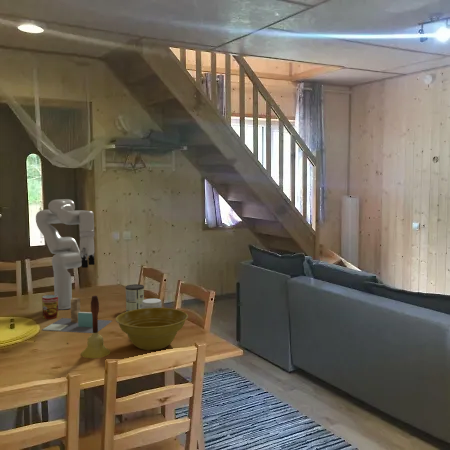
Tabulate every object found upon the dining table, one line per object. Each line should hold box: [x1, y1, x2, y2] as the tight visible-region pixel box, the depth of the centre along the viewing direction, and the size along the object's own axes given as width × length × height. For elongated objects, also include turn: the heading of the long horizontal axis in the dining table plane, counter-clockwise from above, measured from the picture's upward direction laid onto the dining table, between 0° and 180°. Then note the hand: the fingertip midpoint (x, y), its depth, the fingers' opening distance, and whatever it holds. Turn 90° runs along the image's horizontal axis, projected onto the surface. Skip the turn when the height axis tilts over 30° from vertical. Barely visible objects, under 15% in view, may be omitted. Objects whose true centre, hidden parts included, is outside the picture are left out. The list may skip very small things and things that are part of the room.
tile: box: [78, 311, 93, 327], centre depth 256 cm, size 8×2×7 cm, turn 81°
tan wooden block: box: [70, 297, 81, 323], centre depth 264 cm, size 4×4×12 cm
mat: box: [42, 317, 113, 334], centre depth 258 cm, size 28×22×1 cm
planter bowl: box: [115, 307, 189, 351], centre depth 230 cm, size 32×32×13 cm
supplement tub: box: [142, 298, 163, 309], centre depth 254 cm, size 10×10×15 cm
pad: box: [42, 323, 68, 332], centre depth 253 cm, size 9×9×1 cm
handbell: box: [80, 295, 111, 359], centre depth 219 cm, size 12×12×25 cm
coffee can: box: [125, 283, 145, 312], centre depth 289 cm, size 10×10×14 cm
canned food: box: [41, 294, 59, 320], centre depth 272 cm, size 8×8×12 cm
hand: (88, 266), depth 274 cm, fingers open, 9 cm apart
